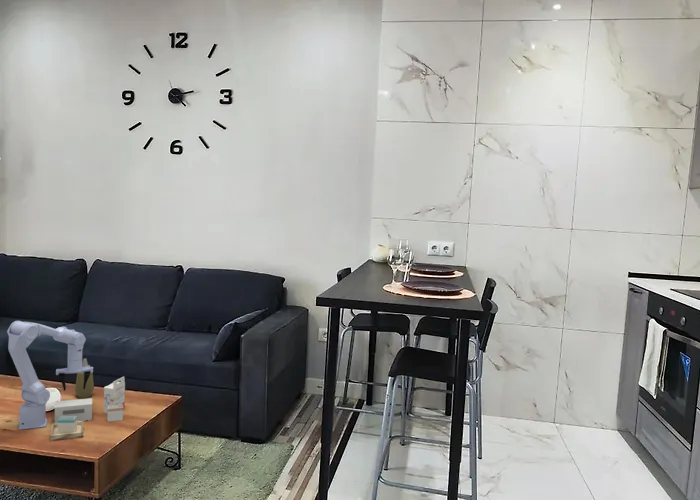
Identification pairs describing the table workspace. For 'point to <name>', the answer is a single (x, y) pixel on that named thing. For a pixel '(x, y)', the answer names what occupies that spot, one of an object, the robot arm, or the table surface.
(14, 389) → the table surface
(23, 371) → the robot arm
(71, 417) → the small white teal box
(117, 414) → the light grey block
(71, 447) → the table surface
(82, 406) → the printer unit
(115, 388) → the ink cartridge box
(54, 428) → the oak tray
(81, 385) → the squeeze bottle
